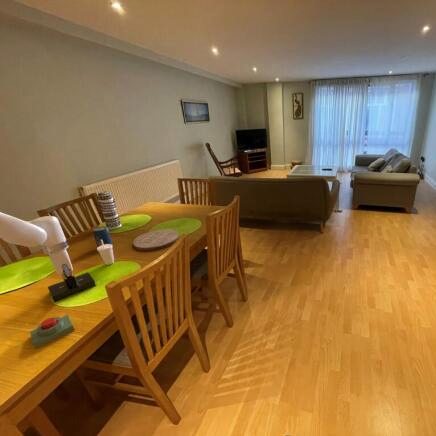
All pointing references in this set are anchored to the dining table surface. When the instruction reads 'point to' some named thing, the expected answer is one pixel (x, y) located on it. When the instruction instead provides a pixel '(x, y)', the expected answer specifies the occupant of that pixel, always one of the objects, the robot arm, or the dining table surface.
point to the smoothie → (106, 253)
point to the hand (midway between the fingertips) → (70, 282)
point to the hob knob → (64, 278)
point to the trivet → (156, 239)
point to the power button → (48, 323)
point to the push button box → (51, 332)
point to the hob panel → (71, 287)
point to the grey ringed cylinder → (109, 210)
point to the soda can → (102, 236)
